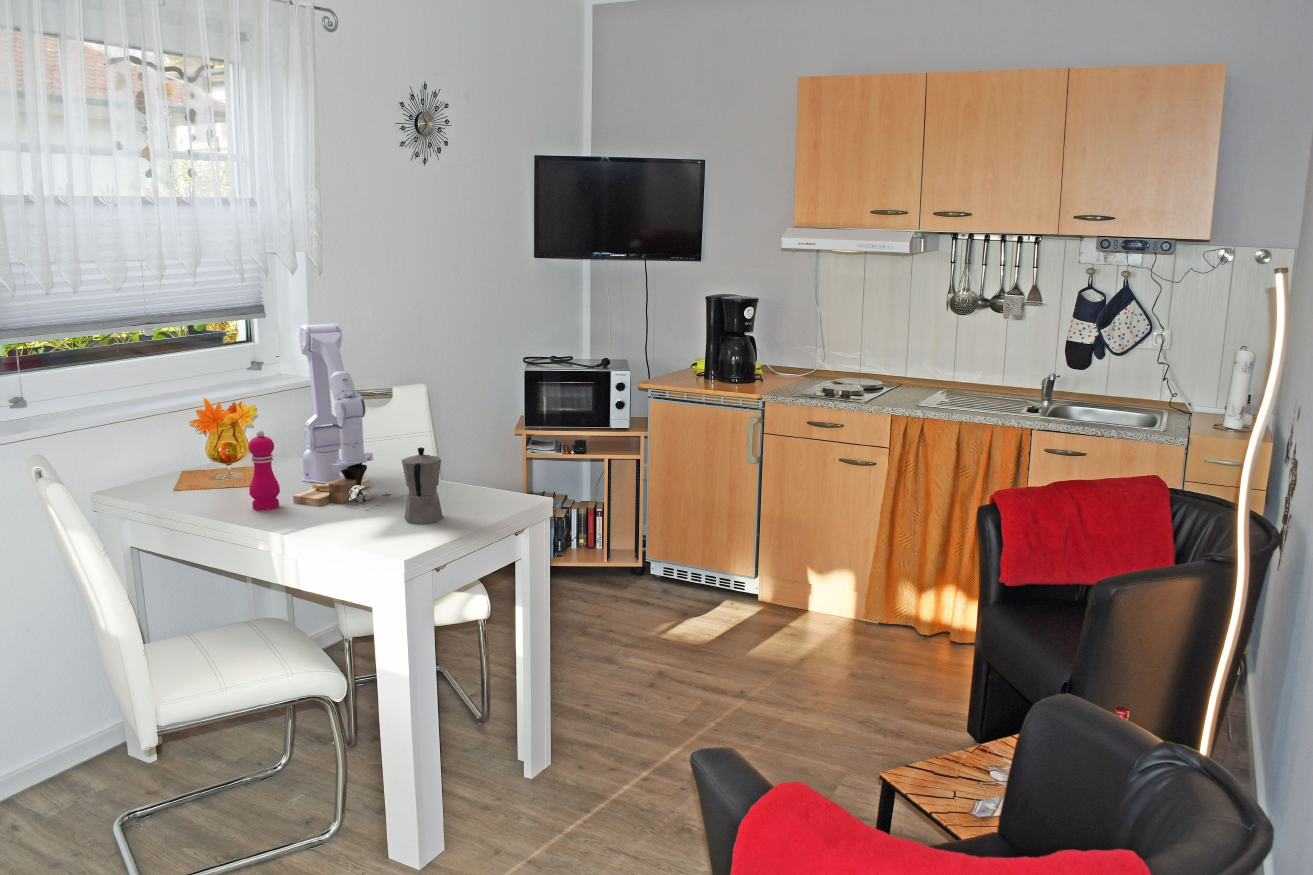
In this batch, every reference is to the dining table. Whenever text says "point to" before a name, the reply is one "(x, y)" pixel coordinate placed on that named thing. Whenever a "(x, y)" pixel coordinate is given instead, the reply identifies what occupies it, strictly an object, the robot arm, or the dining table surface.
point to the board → (318, 495)
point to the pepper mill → (263, 474)
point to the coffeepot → (422, 488)
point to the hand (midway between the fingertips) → (354, 492)
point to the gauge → (338, 490)
